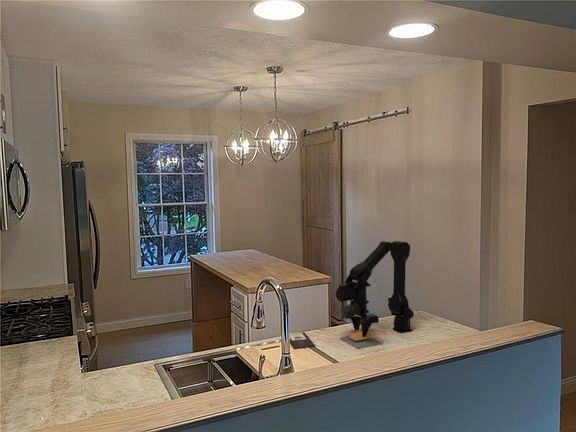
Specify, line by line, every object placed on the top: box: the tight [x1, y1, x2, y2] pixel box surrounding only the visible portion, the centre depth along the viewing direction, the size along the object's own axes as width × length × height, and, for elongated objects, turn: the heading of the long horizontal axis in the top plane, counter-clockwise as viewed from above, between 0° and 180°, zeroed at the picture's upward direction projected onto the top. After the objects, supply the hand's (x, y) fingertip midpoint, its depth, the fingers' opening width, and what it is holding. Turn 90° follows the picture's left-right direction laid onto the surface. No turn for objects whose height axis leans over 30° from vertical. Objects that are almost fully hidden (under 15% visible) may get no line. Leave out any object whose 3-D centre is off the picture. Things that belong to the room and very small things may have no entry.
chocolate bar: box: [289, 331, 316, 350], centre depth 190 cm, size 9×1×18 cm
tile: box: [348, 328, 373, 341], centre depth 187 cm, size 5×8×2 cm, turn 114°
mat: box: [338, 335, 383, 350], centre depth 187 cm, size 12×14×1 cm
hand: (360, 334), depth 187 cm, fingers closed on tile, 5 cm apart
